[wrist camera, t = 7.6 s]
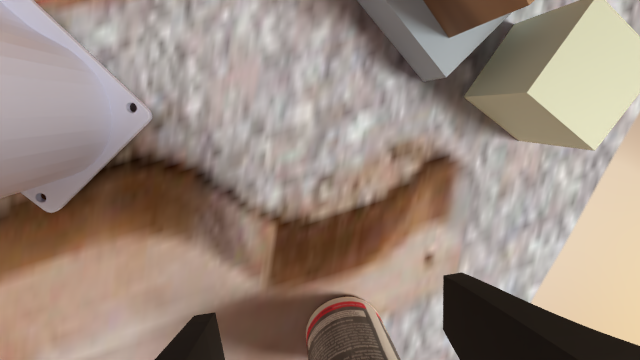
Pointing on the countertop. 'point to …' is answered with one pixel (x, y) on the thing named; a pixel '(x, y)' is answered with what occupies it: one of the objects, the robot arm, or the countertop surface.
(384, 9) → the base block
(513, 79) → the sage cube
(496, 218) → the countertop surface
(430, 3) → the walnut cube
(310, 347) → the pill bottle
